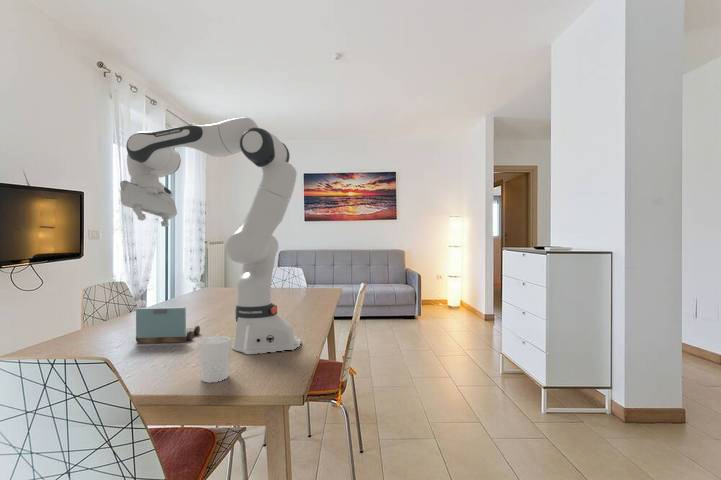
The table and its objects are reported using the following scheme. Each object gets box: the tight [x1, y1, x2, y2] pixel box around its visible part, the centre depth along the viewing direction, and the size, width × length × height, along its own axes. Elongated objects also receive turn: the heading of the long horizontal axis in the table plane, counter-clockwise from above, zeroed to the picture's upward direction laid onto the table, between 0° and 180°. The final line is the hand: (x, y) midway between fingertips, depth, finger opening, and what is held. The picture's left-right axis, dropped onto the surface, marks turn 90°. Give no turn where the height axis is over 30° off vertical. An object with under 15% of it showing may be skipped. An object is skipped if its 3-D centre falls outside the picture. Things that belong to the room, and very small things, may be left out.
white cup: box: [197, 335, 232, 384], centre depth 97 cm, size 8×8×10 cm
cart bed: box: [135, 325, 201, 344], centre depth 136 cm, size 18×12×3 cm, turn 96°
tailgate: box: [135, 306, 187, 339], centre depth 129 cm, size 16×2×10 cm, turn 96°
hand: (154, 222), depth 127 cm, fingers open, 8 cm apart
